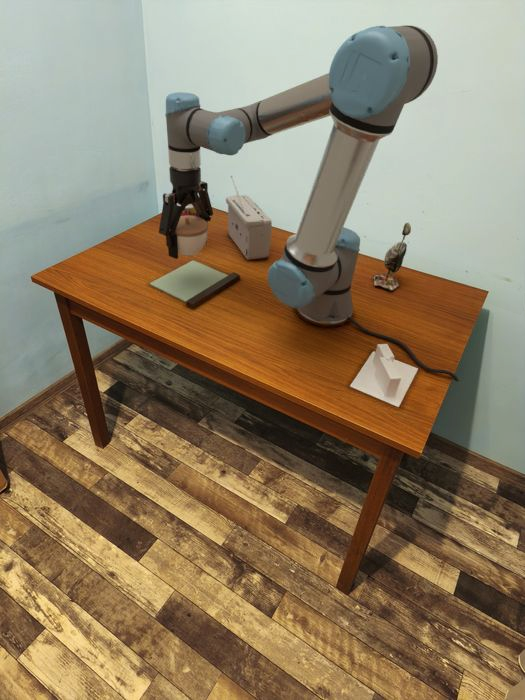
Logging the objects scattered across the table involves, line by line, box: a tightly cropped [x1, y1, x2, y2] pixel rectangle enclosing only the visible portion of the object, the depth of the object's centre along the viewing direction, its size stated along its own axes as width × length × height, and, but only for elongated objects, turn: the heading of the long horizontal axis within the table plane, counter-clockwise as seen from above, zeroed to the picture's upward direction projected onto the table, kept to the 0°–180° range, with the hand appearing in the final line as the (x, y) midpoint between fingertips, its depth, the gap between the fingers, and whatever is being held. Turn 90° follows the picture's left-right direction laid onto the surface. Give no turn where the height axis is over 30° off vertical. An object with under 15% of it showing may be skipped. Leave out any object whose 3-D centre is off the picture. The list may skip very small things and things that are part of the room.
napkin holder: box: [349, 343, 419, 408], centre depth 102 cm, size 15×11×6 cm
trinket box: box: [170, 216, 209, 257], centre depth 122 cm, size 11×11×9 cm
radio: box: [225, 175, 273, 261], centre depth 143 cm, size 21×8×20 cm, turn 22°
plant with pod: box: [373, 222, 412, 291], centre depth 131 cm, size 8×11×20 cm
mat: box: [149, 259, 229, 304], centre depth 130 cm, size 14×18×1 cm
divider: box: [185, 271, 241, 310], centre depth 126 cm, size 2×20×2 cm, turn 144°
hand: (188, 249), depth 124 cm, fingers closed on trinket box, 11 cm apart
